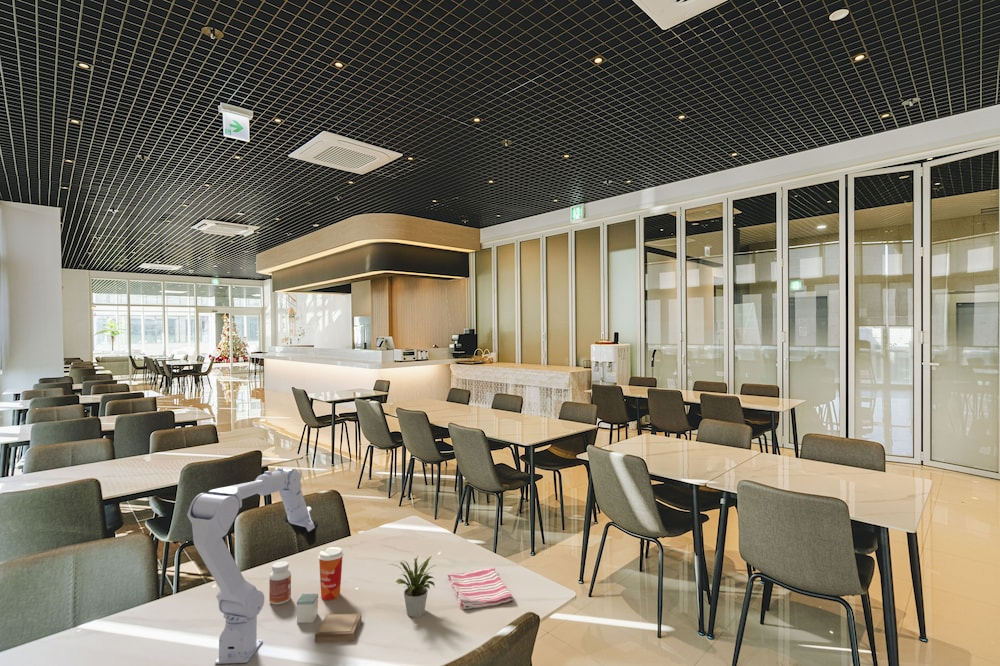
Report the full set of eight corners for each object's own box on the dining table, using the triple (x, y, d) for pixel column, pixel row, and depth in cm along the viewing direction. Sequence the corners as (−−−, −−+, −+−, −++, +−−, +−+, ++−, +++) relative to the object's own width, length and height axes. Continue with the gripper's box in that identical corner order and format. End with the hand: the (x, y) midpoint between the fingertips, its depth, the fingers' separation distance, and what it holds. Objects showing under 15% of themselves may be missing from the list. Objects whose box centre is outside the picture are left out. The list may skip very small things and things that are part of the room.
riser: (353, 640, 134) (353, 632, 134) (315, 642, 134) (315, 633, 134) (361, 620, 144) (361, 613, 144) (326, 621, 144) (326, 613, 144)
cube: (312, 622, 143) (313, 601, 144) (296, 623, 143) (296, 601, 143) (317, 614, 148) (318, 593, 148) (302, 614, 148) (302, 593, 148)
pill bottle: (292, 601, 155) (293, 565, 155) (271, 607, 152) (271, 570, 152) (288, 593, 160) (289, 558, 161) (267, 598, 157) (268, 563, 157)
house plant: (388, 630, 139) (388, 570, 140) (385, 605, 153) (386, 551, 153) (439, 622, 143) (439, 565, 144) (432, 599, 157) (432, 546, 157)
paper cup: (312, 598, 157) (312, 553, 158) (331, 587, 164) (331, 544, 164) (330, 604, 153) (330, 558, 154) (348, 593, 160) (349, 549, 161)
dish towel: (460, 613, 149) (460, 601, 149) (446, 578, 172) (446, 568, 172) (514, 605, 154) (514, 593, 154) (494, 572, 177) (494, 562, 177)
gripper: (318, 504, 148) (329, 540, 153) (295, 487, 157) (306, 520, 162) (296, 519, 143) (308, 555, 148) (273, 499, 153) (285, 534, 158)
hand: (306, 538), depth 155 cm, fingers open, 7 cm apart
